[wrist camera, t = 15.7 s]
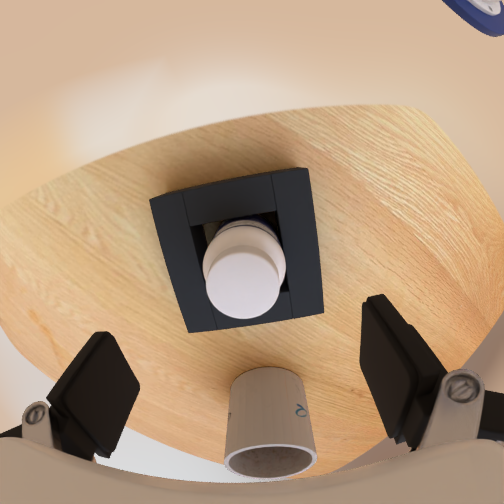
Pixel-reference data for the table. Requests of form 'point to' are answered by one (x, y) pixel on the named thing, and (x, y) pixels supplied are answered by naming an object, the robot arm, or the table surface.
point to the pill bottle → (244, 267)
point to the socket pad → (232, 206)
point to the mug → (268, 425)
